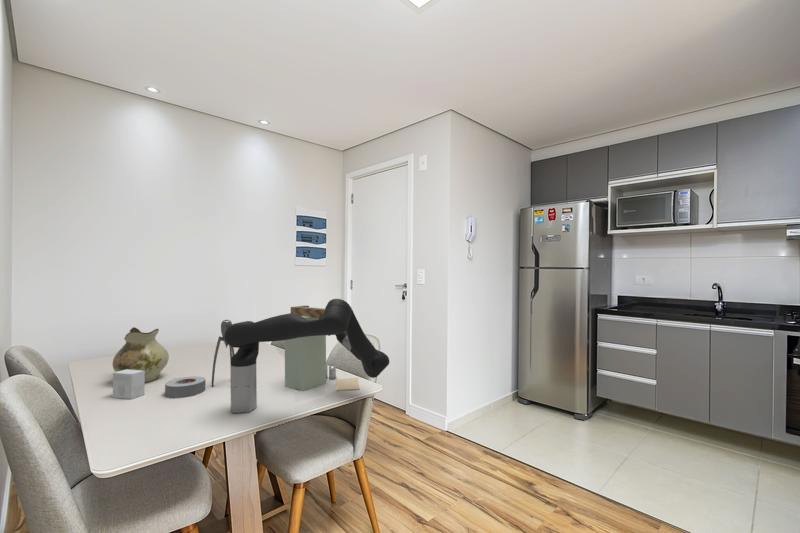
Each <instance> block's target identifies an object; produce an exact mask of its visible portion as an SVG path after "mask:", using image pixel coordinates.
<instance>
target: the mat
mask: <svg viewBox="0 0 800 533" xmlns="http://www.w3.org/2000/svg"><path fill="white" fill-rule="evenodd" d="M345 391H347V392H348V391H360V384H359V379H358V377H351V378H350V377H349V378H336V391H335V392H345Z"/></svg>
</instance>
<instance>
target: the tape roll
mask: <svg viewBox="0 0 800 533" xmlns="http://www.w3.org/2000/svg"><path fill="white" fill-rule="evenodd" d="M204 392H206V378H205V377H203V376H192V375H191V376H184V377H177V378H174V379H170V380H168V381H166V382H165V384H164V394H165V395H164V396H165V397H166V398H168V399H182V398H183V399H185V398H190V397H194V396H197V394H198V395H200V394H202V393H204Z"/></svg>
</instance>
